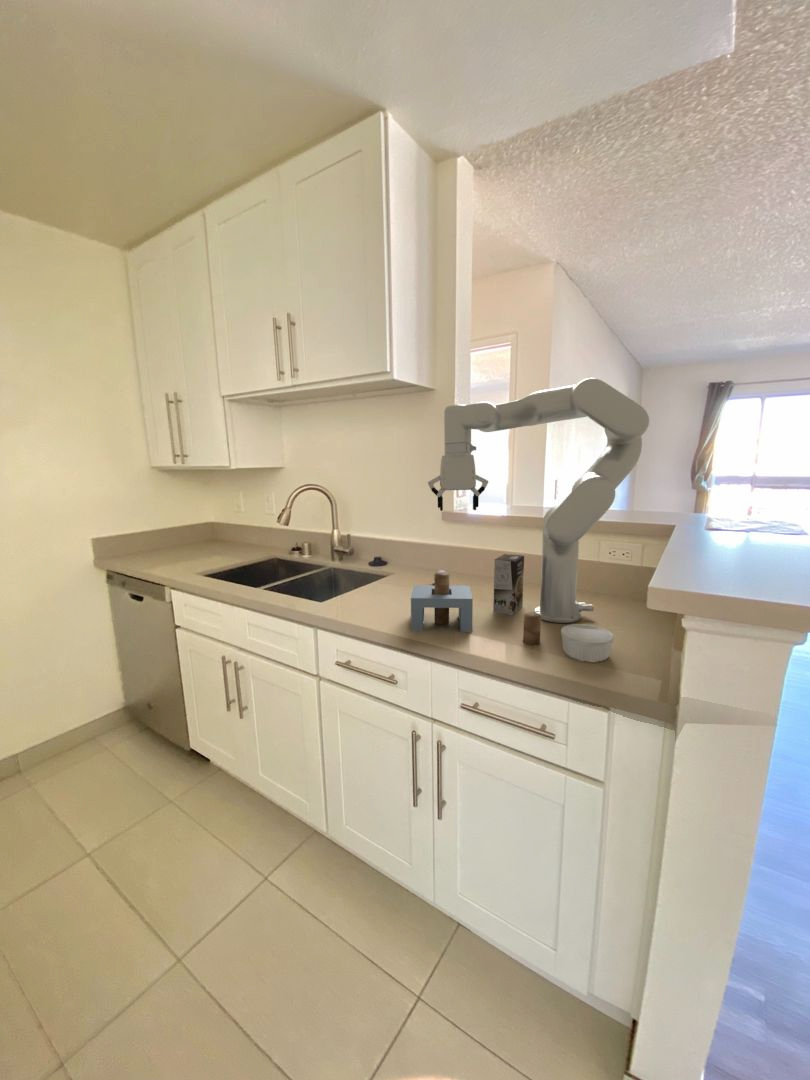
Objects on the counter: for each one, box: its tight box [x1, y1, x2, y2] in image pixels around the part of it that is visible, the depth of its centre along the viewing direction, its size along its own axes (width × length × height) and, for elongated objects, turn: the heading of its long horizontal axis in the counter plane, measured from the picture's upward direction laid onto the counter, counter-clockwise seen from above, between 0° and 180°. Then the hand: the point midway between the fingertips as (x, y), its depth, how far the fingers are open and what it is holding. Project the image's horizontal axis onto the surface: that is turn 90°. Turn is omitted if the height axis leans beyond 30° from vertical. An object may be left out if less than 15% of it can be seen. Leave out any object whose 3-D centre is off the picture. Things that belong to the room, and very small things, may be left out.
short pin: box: [522, 611, 542, 647], centre depth 106 cm, size 4×4×7 cm
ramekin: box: [560, 623, 615, 662], centre depth 99 cm, size 11×11×5 cm
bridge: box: [410, 584, 474, 633], centre depth 119 cm, size 16×12×9 cm
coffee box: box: [492, 553, 525, 616], centre depth 129 cm, size 9×6×16 cm
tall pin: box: [434, 572, 450, 627], centre depth 119 cm, size 4×4×14 cm
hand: (457, 510), depth 126 cm, fingers open, 9 cm apart
